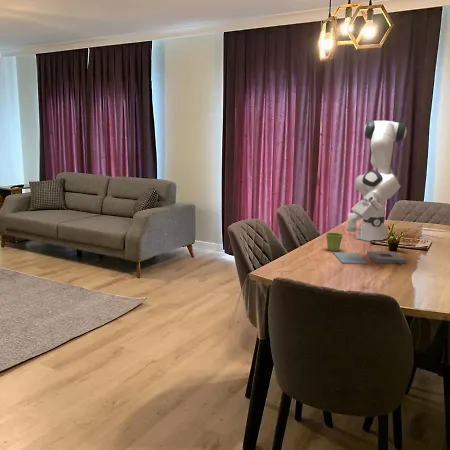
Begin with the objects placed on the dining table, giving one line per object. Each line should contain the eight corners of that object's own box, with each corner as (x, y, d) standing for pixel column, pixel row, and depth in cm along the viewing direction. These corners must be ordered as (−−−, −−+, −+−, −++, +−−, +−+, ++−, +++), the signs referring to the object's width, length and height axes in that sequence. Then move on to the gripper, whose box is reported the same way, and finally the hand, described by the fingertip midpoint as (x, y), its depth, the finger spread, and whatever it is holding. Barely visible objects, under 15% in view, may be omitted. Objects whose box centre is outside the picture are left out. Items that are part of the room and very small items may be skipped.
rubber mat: (333, 253, 246) (333, 252, 246) (356, 253, 246) (356, 252, 246) (342, 263, 227) (342, 262, 226) (367, 264, 227) (367, 262, 226)
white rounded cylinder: (345, 229, 236) (346, 212, 235) (354, 230, 236) (356, 213, 235) (348, 231, 232) (349, 214, 230) (357, 231, 232) (358, 214, 230)
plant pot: (343, 248, 257) (344, 233, 255) (341, 252, 248) (342, 236, 247) (325, 247, 260) (326, 231, 258) (323, 251, 251) (324, 235, 250)
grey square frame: (366, 255, 244) (367, 250, 244) (394, 255, 244) (394, 251, 244) (379, 265, 224) (380, 261, 223) (409, 266, 224) (409, 261, 223)
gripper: (362, 194, 241) (341, 213, 243) (374, 199, 221) (352, 219, 223) (370, 203, 242) (349, 221, 244) (383, 209, 222) (360, 229, 223)
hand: (350, 221), depth 233 cm, fingers closed on white rounded cylinder, 4 cm apart
